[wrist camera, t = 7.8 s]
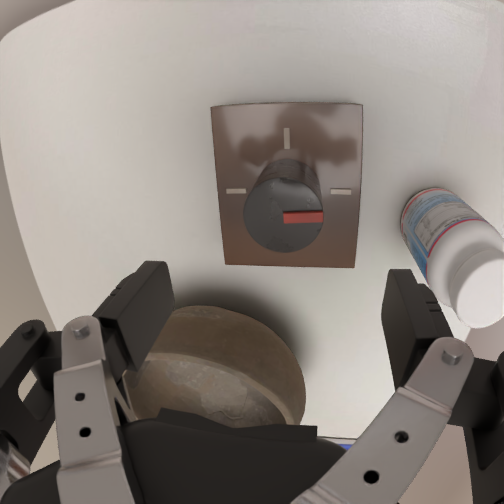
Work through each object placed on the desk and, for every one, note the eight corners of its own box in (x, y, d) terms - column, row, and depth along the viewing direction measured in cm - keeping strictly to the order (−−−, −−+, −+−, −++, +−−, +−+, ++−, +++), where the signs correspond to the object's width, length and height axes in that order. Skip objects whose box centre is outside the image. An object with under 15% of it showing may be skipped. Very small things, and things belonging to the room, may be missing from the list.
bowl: (121, 303, 34) (75, 365, 25) (269, 255, 28) (250, 333, 19) (197, 401, 40) (175, 463, 31) (327, 381, 34) (326, 457, 25)
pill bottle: (456, 252, 25) (511, 334, 15) (395, 252, 26) (432, 342, 16) (466, 187, 22) (542, 248, 12) (401, 183, 23) (458, 247, 13)
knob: (259, 221, 23) (246, 256, 19) (253, 161, 21) (237, 181, 17) (321, 219, 22) (324, 254, 18) (318, 157, 20) (322, 176, 16)
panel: (221, 105, 23) (209, 107, 20) (356, 103, 21) (363, 104, 18) (233, 247, 28) (224, 265, 25) (350, 250, 26) (354, 269, 24)
